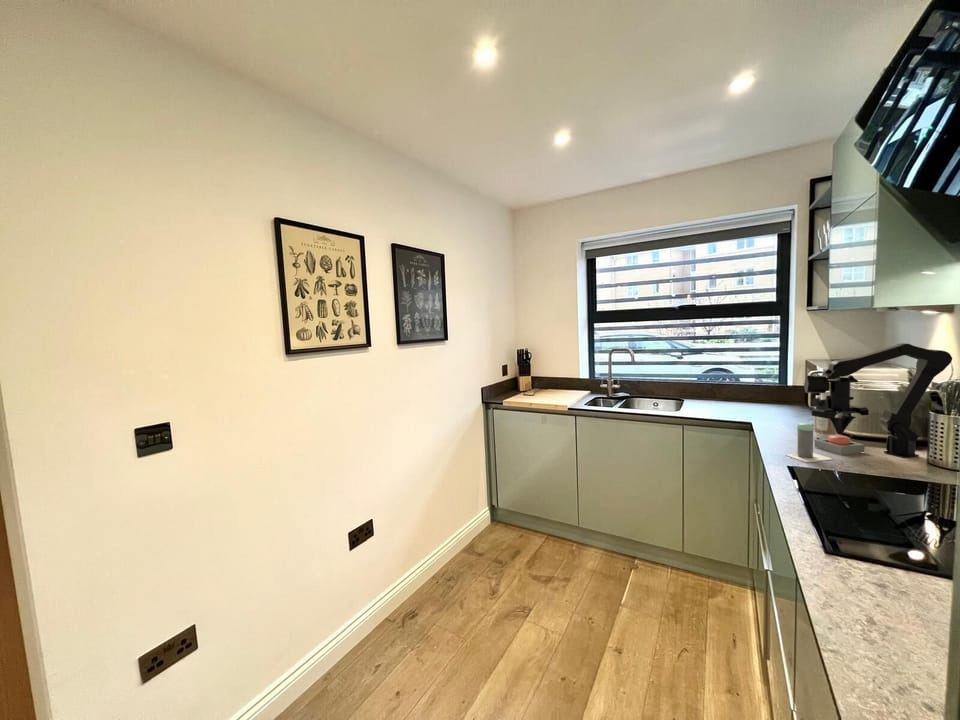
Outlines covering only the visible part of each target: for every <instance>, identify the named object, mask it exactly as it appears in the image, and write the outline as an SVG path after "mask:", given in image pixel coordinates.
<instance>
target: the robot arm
mask: <svg viewBox="0 0 960 720" xmlns="http://www.w3.org/2000/svg"><path fill="white" fill-rule="evenodd" d="M903 356H906V357H908V358H912V359H915V360H917V361H916V363H915V365H916V367H915V373H914V375H913V376H912V378H911V380H910V382H909V383H908V385H907V387H906V389H905V390H904V392H903V393H902V395H901V397H899V398H900V399H899V400H898V402H897V403H896V405H895V406H894V407H893V408H892V409H891V410H887V409H884V410H883V412H882V414H881V416H880V417H879V418H878V420H880V421H879V425H880V427H881V428H882V429H883V430H884V431H885V432H886V433H887V435H888V436H887V439H886V444H885V447H886V449H885V450H883V453H884V454H887V455H892V456H896V457H899V458H914V457H919V456H920V455H919V454H917V453H916V442H917V440H918V439H919V435H918V434H917V433H915V432H914V431H913V430H912V429H911V426H912V423H913V413H914V411H915V409H916V408H917V406H918V405H919V403H920V401H921V400H922V398H923V396H924V395H925V394H926V392H927V390H928V388H929V386H930V385H931V383H932V382H933V380H934V379H935V377H937V376H938V375H939V374H940V373H942V372H943V371H945V370H946V368H948V367H949V365H950V364H952V361H953V357H952V355H951V353H949V352H948V351H945V350H940V349H932V348H931V349H927V348H923V347H920V346H917V345H916V346H915V345H912V344H911V343H902V342H901V343H896V344H895V345H892V346H889V347H886V348H883V349H880V350H876V351H872V352H869V353H867V354H864V355H863V354H862V355H860V356H856V357H848V358H847V357H846V358H840V359H835V360H833V361H831V362H830V363H829V365H828V369H826V370H825V371H824V372H823V374H821V375H810V374H809V375H808V374H806V375H805V381H804V383H803V386H804V387H803V388H804V392H805V393H806V394H821V393H825V392H826V391H830V395H827V396H826V399H825V400H821V398H819V397H817V398H815V397H814V398H811V402H810V403H811V406H812V407H813V409H812V410H811V416H813V417H814V416H816V417H821V418H829V419H830V420H831V421H832V423H833V425H834V427H835V430H836V435H843V433H844V431H845V430H846V429H847V427H848V426H849V425H850V423H851V422H852V421H853V420H854V419H856V416H853V415H852V414H859V415H860V416H869V414H870V413H869V409H868V408H867V407H866V406H860V405H854V404H853V405H851V400H854V396H851V385H852V384H851V383H858V382H859V380H858V379H856V378H855V377H854V376H853V375H852V374H855V373H857V372H858V371H860V370H861V369H864V368H867V367H869V366H873V365H876V364H879V363H882V362H886V361H889V360H893V359H896V358H900V357H903ZM815 407H816V408H815Z"/></svg>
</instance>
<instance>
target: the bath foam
mask: <svg viewBox="0 0 960 720" xmlns="http://www.w3.org/2000/svg"><path fill="white" fill-rule="evenodd" d="M827 395H830V390H828V391H826V392H825V393H820V400H825V399H826V396H827ZM815 408H816V407H814V409H815ZM813 417H814V423H813V425H814V430H813V438H815V437H816V438H815V439H817V438H819V439H828V438H829V435H837V432H836V430H835V427H834V425H833V423H832V421H831V420H830V419H829V418H821V417H816V416H813ZM819 439H818V440H819Z"/></svg>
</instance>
